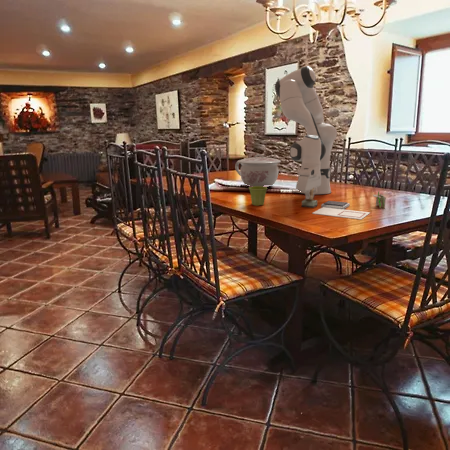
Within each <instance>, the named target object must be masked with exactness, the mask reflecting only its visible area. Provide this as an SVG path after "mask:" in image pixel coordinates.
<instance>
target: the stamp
mask: <svg viewBox="0 0 450 450" xmlns="http://www.w3.org/2000/svg"><path fill="white" fill-rule="evenodd" d="M313 191H314V188H313V189H311V190H310V192H309V194H310V199H306V198H305V199H303V200H301V207H303V208H311V209H315V208H316V207H317V206H318V200H316V199H314V197H313Z"/></svg>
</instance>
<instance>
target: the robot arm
mask: <svg viewBox="0 0 450 450" xmlns="http://www.w3.org/2000/svg"><path fill="white" fill-rule="evenodd" d="M316 79H317V76H316V72H315V71H314V69H313V68H312V67H311V66H309V65H307V66H302V67H301V68H298V69H297V70H293V71H291V72H290V73H288V74H287V75H285V76H283V77H281V78H279V79H278V80H277V81H275V84H274V91H275V93H276V95H277V96H278V98H279V101H280V106H281V111H282V113H283V116H284V117H285V118H286V119H288V120H290V121H293V122H295V123H297V124H300V125H301V126H303V128H305V131H306V135H304V136H303V138H302V139H301V140H298V141H296V142H293V143H292V144H291V145H290V148H289V156H290V158H291V160H293V161H294V162H301V166H300V168H299V169H298V170H297V175H298V180H297V182H296V184H295V188H296V189H298V190H299V191H293V190H295V189H294V188H293V190H291V192H293V193H299V194H304V195H305V199H310V194H309V192H310V190H311V189H313V188H314V191H313V198H314V196H315V195H326V194H327V195H328V194H331V193H332V189H331V184H330V181H331V180H330V178H331V168H330V167H331V153H332V150H333V145H334V142H335V140H336V139H337V137H338V131H337V128H336V127H335V126H333V125H332V124H330V123H326V122H325V120H324V109H323V106H322V103H321V100H320V98H319V96H318V93H317V91H316V89H315V88H314V85H315V83H316V81H317V80H316ZM300 191H301V192H300Z"/></svg>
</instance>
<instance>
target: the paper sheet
mask: <svg viewBox="0 0 450 450" xmlns="http://www.w3.org/2000/svg"><path fill="white" fill-rule="evenodd" d="M311 213H312V214H313V215H319V216H329V217H336V218H344V219H353V220H360V221H362V220H363V219H365V218H366V217H367V216H368V215H370V214H371V212H368V211H361V210H352V209H336V208H327V207H320V208H318V209H317V210H315V211H313V212H311Z"/></svg>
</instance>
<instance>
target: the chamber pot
mask: <svg viewBox="0 0 450 450" xmlns="http://www.w3.org/2000/svg"><path fill="white" fill-rule="evenodd" d="M281 162H282V161H281V160H280V159H277V158H273V157H265V156H264V155H262V154H256V155H254V157H249V158H248V157H247V158H243V159H239V160H237V161H236V162H235V166H234V168H235V171H236V173H237V174H238V175H239V176H240V179H241V181H242V183H243V184H244V185H245V184H247V185H250V186H264V185H273V184H274V185H275V183H276V182H277V180H278V176H279V166H278V164H279V163H281ZM239 164H240V165H241V166H240V169H239ZM274 185H273V186H274Z"/></svg>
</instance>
